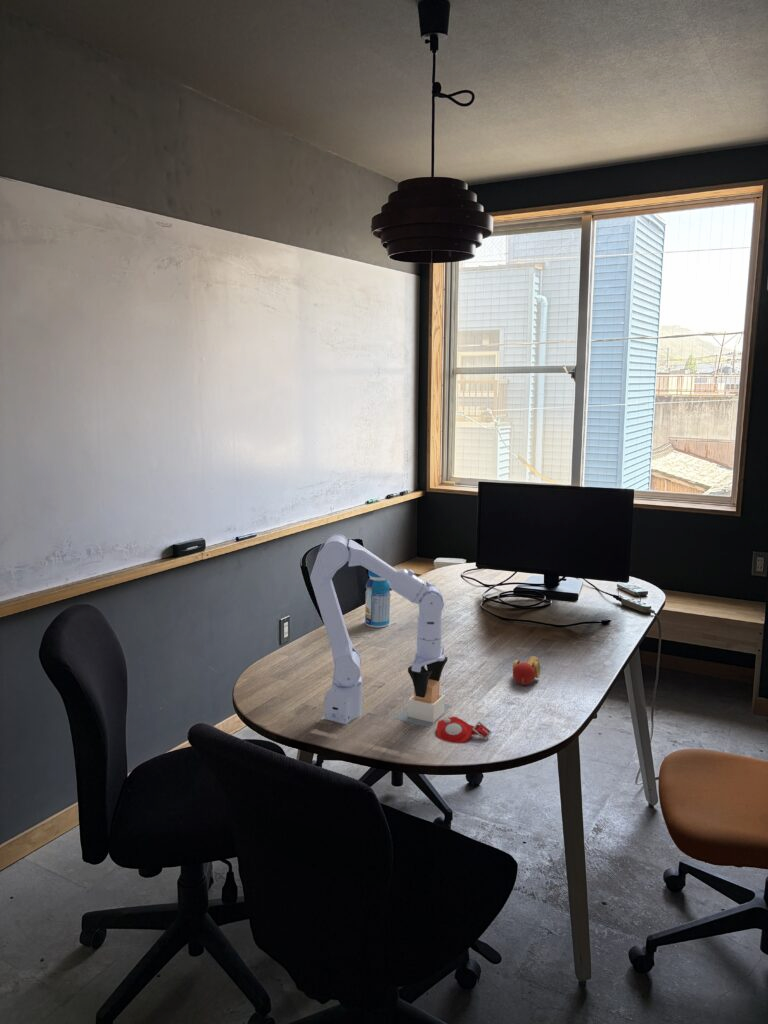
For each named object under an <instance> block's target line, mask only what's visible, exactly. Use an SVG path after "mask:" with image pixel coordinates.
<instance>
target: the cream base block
mask: <svg viewBox="0 0 768 1024" xmlns="http://www.w3.org/2000/svg"><path fill="white" fill-rule="evenodd" d="M445 696H446V695H445V694H440V693H439V699H438V700H437V701H436V702H435V703H434V704H431V703H426V702H422V701H418V700H414V694H413V695H412V696H411V697H410V698H408V706H407V708H408V717H412V718H416V719H420V720H424V721H429V722H434V721H436V720H437V719H438V718H439V717H440V716H441V715H442V714H443V713H444V704H446V703H445V699H446V697H445ZM444 714H445V713H444ZM444 714H443V715H444ZM443 715H442V716H443ZM442 716H441V717H442ZM441 717H440V718H441ZM440 718H439V719H440ZM439 719H438V720H439ZM438 720H437V721H438ZM437 721H436V722H437Z"/></svg>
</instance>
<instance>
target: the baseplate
mask: <svg viewBox="0 0 768 1024" xmlns="http://www.w3.org/2000/svg"><path fill="white" fill-rule="evenodd" d="M451 707H452V704H451V705H450V704H446V703H444V713H443V714H442V715H441V716H440V717H439V718H438V719H437V720H436V721H434V722H429V721H424V720H420V719H416V718H412V717H408V707H406V709H405V710H403V711H402V712H401V713H400V714H398V715H397V716H396V717H395V718H394V720H399V721H402V722H406V723H410V724H415V725H418V726H422V727H427V728H431V726H433V724H435V722H438V721H439V719H440V718H441V717H442V716H443V715H444V714H445V713H447V711H448V710H449V709H451Z"/></svg>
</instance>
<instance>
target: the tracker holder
mask: <svg viewBox="0 0 768 1024" xmlns="http://www.w3.org/2000/svg"><path fill="white" fill-rule="evenodd" d="M435 733H436V737H437V739H439V740H442V741H445V742H449V743H455V744H465V743H467V742H469V740H470V739H471V737H472V735H473V736H474V735H475V736H479V737H480V738H482V739H483V740H484V741H487V739H488V738H489V736H491V734H492V730H491V729H489V728H488V727H487V726H485V724H483V723H482V722H481V721H477V722H476V724H475V725H471V724H469V723H468V722H466V721H465V720H463V719H461V718H460V717H457V716H450V717H447V718H444V719H441V720H438V721H437V726H436V732H435Z"/></svg>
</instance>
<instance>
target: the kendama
mask: <svg viewBox="0 0 768 1024" xmlns="http://www.w3.org/2000/svg"><path fill="white" fill-rule="evenodd" d="M540 675H541V664H540V659H539V657H537V656H534V655H532V656H530V658H528V661H527V662H525V661H523V662H521V661H520V660H518V659H515V660H514V661H513V663H512V676H513V679H514V681H515V682H516V683H518V684H519V685H521V686H528V685H530V684H531V683H532V682H534V680H535V678H536V679H537V678H540Z"/></svg>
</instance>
